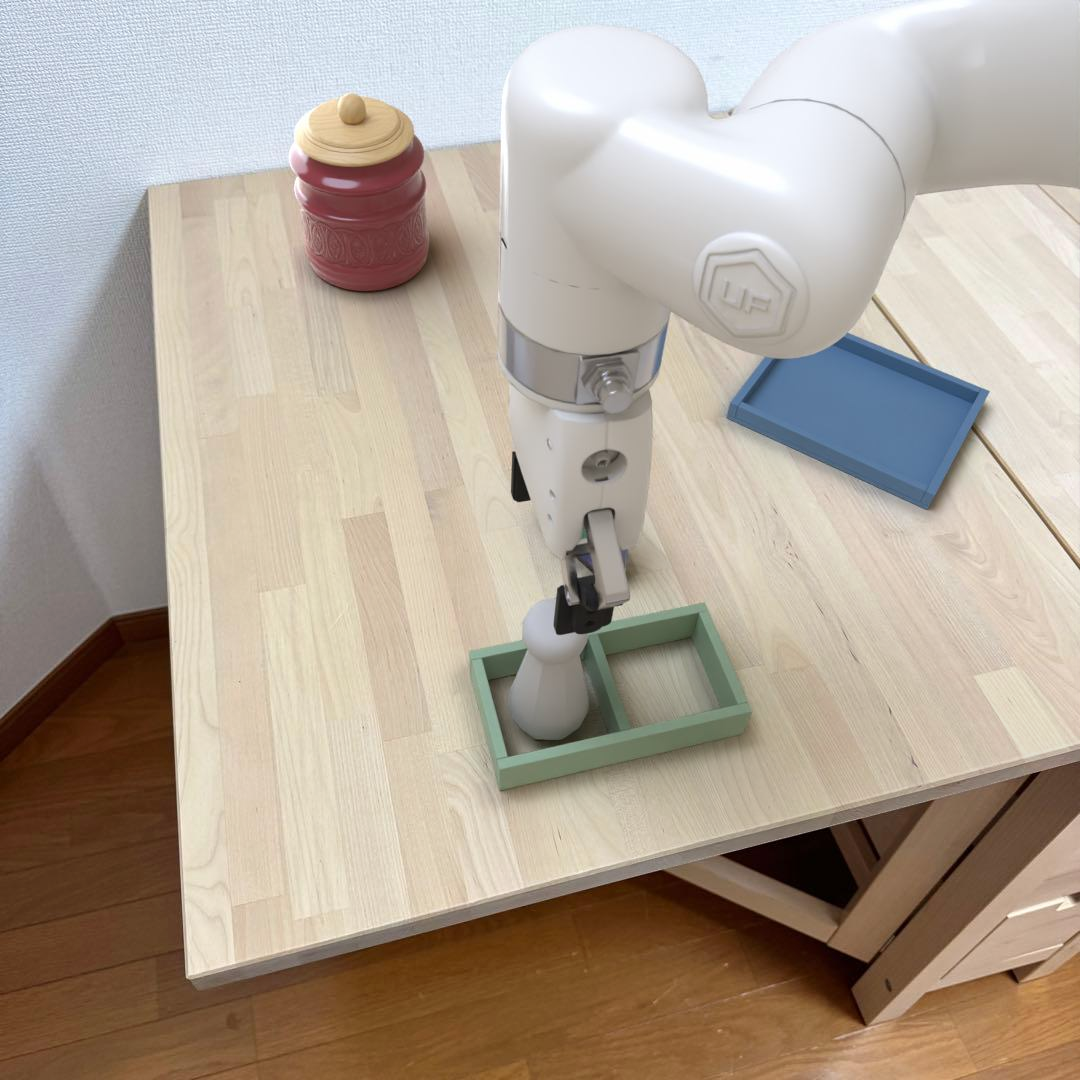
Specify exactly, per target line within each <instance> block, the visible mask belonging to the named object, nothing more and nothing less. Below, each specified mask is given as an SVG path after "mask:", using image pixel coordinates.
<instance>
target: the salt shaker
mask: <svg viewBox="0 0 1080 1080" xmlns="http://www.w3.org/2000/svg"><path fill="white" fill-rule="evenodd" d="M555 605H556V597H551V598H546V599H545V598H544V599H541V600H539V601H538V602H537V603H535V604H533V605H531V606H530V608H529V609H528V611H527V613H526V614H525V615H524V617H523V620H522V627H521V628H522V629H521V631H522V632H521V638H522V639H521V640H523V642H524V644H525V646H526V648H527V652H526V654H525V657H524V659H523V661H522V664H521V666H520V668H519V671H518V673H517V674H515V678H514V680H513V682H512V685H511V687H510V689H509V691H508V692H509V693H508V694H509V695H508V710H509V712H510V714H511V716H512V718H513V720H514V722H515V724H516V726H517V727H518V728H520V729H521V730H522V731H524V732H525V733H526V734H528V735H529V736H530V737H531V738H532V739H534V740H547V741H560V740H563V739H565V738H567V737H568V736H569V735H571V734H572V733H573V732H575V731H577V730H578V729H579V728H580V727H581V725H582V724H583V722H584V720H585V718H586V716H587V715H588V712H589V711H590V703H589V702H590V701H589V700H590V699H589V690H588V686H587V682H586V681H587V680H586V678H585V673H584V669H583V665H582V660H580V656H579V655H580V654H581V652H582V650H583V649H584V647H585V645H586V643H587V641H588V634H582V635H581V634H576V633H575V632H574V633H569V634H564V635H557V634H556V632H555V629H554V625H553V624H554V614H555Z"/></svg>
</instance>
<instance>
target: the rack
mask: <svg viewBox="0 0 1080 1080" xmlns="http://www.w3.org/2000/svg"><path fill="white" fill-rule="evenodd" d="M706 604H707V603H706V602H705V601H704V602H700V603H695V604H689V605H685V606H680V607H675V608H671V609H665V610H661V611H656V612H651V613H645V614H642V615H641V614H640V615H636V616H632V617H626V618H622V619H616V620H612V621H611V623H610V624H609V625H607V626H604V627H601V629H599V630H598V631H595V632H592V633H588V641H587V643H586V645H585V647H584V649H583V650H582V652H581V654H580V655H579V656H580V660H581V661H584V664H585V666H586V669H587V672H588V676H589V679H590V681H591V684H592V687H593V690H594V693H595V696H596V699H597V702H598V705H599V708H600V711H601V714H602V717H603V721H604V723H605V726H606V730H607V732H608V733H607V734H602V735H599V736H594V737H590V738H585V739H582V740H577V741H573V742H568V743H564V744H560V745H559V744H558V745H554V746H550V747H545V748H542V749H538V750H534V751H533V750H532V751H529V752H524V753H520V754H519V753H518V754H515V755H511V756H509V755H508V752H507V747H506V744H505V739H504V736H503V733H502V729H501V725H500V724H501V723H500V721H499V717H498V714H497V710H496V706H495V702H494V698H493V695H492V691H491V687H490V684H489V681H490V680H494V679H500V678H505V677H509V676H514V675H517V673H518V671H519V668H520V666H521V664H522V661H523V659H524V657H525V654H526V652H527V648H526V646H525V644H524V642H523V640H522V639H519V640H514V641H510V642H505V643H501V644H496V645H490V646H486V647H482V648H476V649H472V650H469V651H468V661H469V662H468V663H469V665H468V666H469V677H470V678H469V679H470V682H471V686H472V689H473V693H474V697H475V700H476V705H477V708H478V713H479V716H480V721H481V724H482V728H483V732H484V737H485V739H486V744H487V748H488V753H489V756H490V760H491V764H492V768H493V772H494V776H495V780H496V784H497V787H498V790H499V791H504V790H509V789H513V788H517V787H521V786H525V785H529V784H535V783H539V782H542V781H546V780H547V781H548V780H551V779H555V778H559V777H565V776H568V775H573V774H576V773H577V774H578V773H581V772H585V771H589V770H593V769H598V768H599V769H600V768H603V767H607V766H611V765H615V764H621V763H623V762H628V761H633V760H636V759H642V758H645V757H649V756H654V755H658V754H663V753H667V752H670V751H671V752H672V751H675V750H679V749H683V748H688V747H693V746H698V745H702V744H704V743H709V742H714V741H718V740H722V739H726V738H731V737H735V736H739V735H743V734H744V732H745V729H746V727H747V725H748V724H749V723H748V722H749V720H750V718H751V715H752V713H753V710H752V707H751V705H750V703H749V700H748V698H747V696H746V693H745V691H744V689H743V687H742V684H741V682H740V680H739V678H738V675H737V673H736V671H735V668H734V666H733V663H732V661H731V658H730V656H729V655H728V652H727V650H726V648H725V645H724V643H723V641H722V638H721V636H720V633H719V631H718V630H717V628H716V625H715V622H714V620H713V618H712V615H711V613H710V611H709V609H708V606H707V605H706ZM687 638H688V639H689V638H691V639H692V641H693V644H694V646H695V648H696V651H697V654H698V656H699V658H700V661H701V663H702V665H703V668H704V670H705V673H706V675H707V678H708V680H709V682H710V685H711V687H712V690H713V692H714V695H715V696H716V698H717V701H718V704H719V706H720V708H718V709H717V708H716V709H712V710H708V711H704V712H700V713H699V712H698V713H696V714H691V715H686V716H682V717H678V718H673V719H669V720H664V721H661V722H656V723H652V724H647V725H642V726H638V727H634V728H632V727H631V725H630V721H629V719H628V716H627V713H626V711H625V708H624V705H623V702H622V699H621V696H620V692H619V691H618V687H617V684H616V682H615V679H614V676H613V672H612V671H611V668H610V664H609V662H608V659H607V656H608V655H613V654H618V653H622V652H628V651H631V650H636V649H641V648H645V647H651V646H655V645H659V644H660V645H661V644H664V643H669V642H673V641H679V640H683V639H687Z"/></svg>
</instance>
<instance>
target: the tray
mask: <svg viewBox="0 0 1080 1080" xmlns="http://www.w3.org/2000/svg"><path fill="white" fill-rule="evenodd" d="M990 392H991V391H990V390H989V389H986V388H984V387H980V386H978V385H976V384H973V383H971V382H968V381H966V380H964V379H961V378H959V377H956V376H954V375H951V374H949V373H947V372H945V371H943V370H939V369H937V368H934V367H933V366H929V365H927V364H925V363H922V362H920V361H917V360H915V359H913V358H910V357H908V356H905V355H903V354H902V353H901V354H900V353H898V352H896V351H893V350H891V349H888V348H886V347H884V346H881V345H879V344H877V343H874V342H872V341H869V340H868V339H864V338H862V337H861V336H860V337H859V336H857V335H854V334H852V333H849V332H848V333H847V334H846V335H845V336H844V337H842V338H841V339H840V340H839V341H837V342H836V343H834V344H833V345H831V346H830V347H828V348H826V349H824V350H822V351H820V352H817V353H815V354H812V355H808V356H804V357H799V358H788V359H778V358H769V357H764V356H763V359H762V360H761V361H760V362H759V364H758V365H757V366H756V368H755V369H754V370H753V372H752V373H751V374H750V376H749V377H748V378H747V380H746V381H745V382H744V384H742V386H741V388H740V389H739V390H738V392H737V393H736V394H735V396H734V397H733V398H732V400H731V401H730V402H729V406H728V408H727V413H726V419H728V420H730V421H732V422H734V423H737V424H739V425H740V426H743V427H745V428H747V429H750V430H752V431H753V432H757V433H759V434H761V435H762V436H765V437H767V438H770V439H771V440H773V441H776V442H778V443H780V444H783V445H785V446H787V447H789V448H791V449H794V450H795V451H798V452H800V453H802V454H804V455H807V456H809V457H811V458H813V459H815V460H817V461H820V462H822V463H824V464H826V465H828V466H830V467H833V468H835V469H837V470H839V471H841V472H843V473H846V474H848V475H850V476H852V477H855V478H857V479H859V480H861V481H863V482H865V483H868V484H870V485H872V486H875V487H876V488H879V489H881V490H883V491H885V492H887V493H889V494H891V495H894V496H896V497H898V498H900V499H902V500H905V501H907V502H909V503H911V504H913V505H916V506H918V507H920V508H921V509H924V510H926V511H927V510H928V509H929V508H930V505H932V504H931V503H932V502H933V500H934V498H935V497H936V494H937V493H938V491H939V489H940V487H941V485H942V483H943V482H944V479H945V477H946V476H947V474H948V472H949V470H950V469H951V466H952V464H953V462H954V460H955V459H956V458H957V455H958V453H959V451H960V449H961V448H962V445H963V443H964V441H965V440H966V438H967V436H968V434H969V432H970V430H971V428H972V427H973V424H974V422H975V420H976V419H977V417H978V415H979V413H980V411H981V410H982V408H983V405H984V403H985V402H986V400H987V398H988V396H989V394H990Z"/></svg>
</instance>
